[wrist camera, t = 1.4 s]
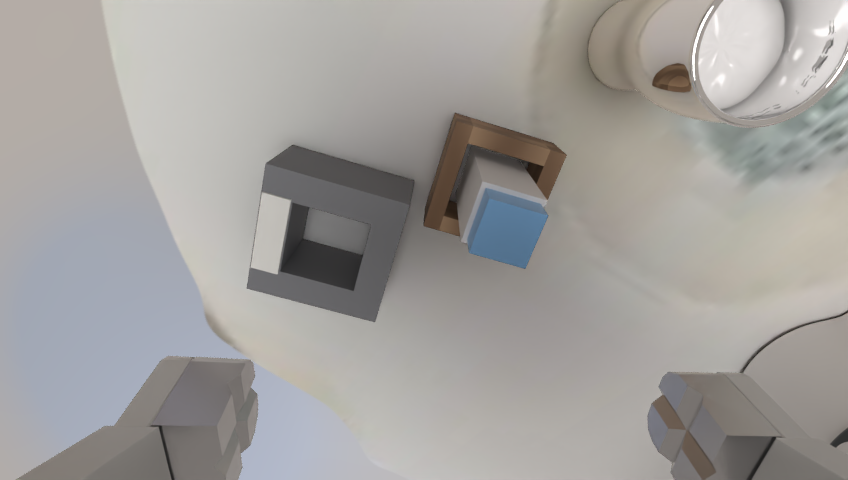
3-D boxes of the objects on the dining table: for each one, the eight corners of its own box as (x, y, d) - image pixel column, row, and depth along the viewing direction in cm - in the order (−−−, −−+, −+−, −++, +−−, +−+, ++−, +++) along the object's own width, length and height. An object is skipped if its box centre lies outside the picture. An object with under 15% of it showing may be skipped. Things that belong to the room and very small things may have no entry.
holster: (553, 143, 35) (566, 154, 31) (515, 234, 38) (524, 254, 34) (454, 112, 34) (456, 121, 30) (425, 208, 37) (423, 226, 34)
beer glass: (624, 116, 34) (750, 165, 20) (560, 51, 32) (650, 56, 18) (702, 38, 32) (904, 34, 18) (637, -36, 30) (805, -103, 16)
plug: (519, 160, 35) (555, 212, 24) (501, 206, 37) (528, 274, 26) (471, 145, 35) (485, 191, 24) (455, 192, 37) (462, 255, 26)
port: (414, 180, 36) (409, 205, 31) (383, 284, 40) (374, 323, 35) (292, 145, 35) (264, 164, 30) (273, 254, 39) (245, 289, 34)
